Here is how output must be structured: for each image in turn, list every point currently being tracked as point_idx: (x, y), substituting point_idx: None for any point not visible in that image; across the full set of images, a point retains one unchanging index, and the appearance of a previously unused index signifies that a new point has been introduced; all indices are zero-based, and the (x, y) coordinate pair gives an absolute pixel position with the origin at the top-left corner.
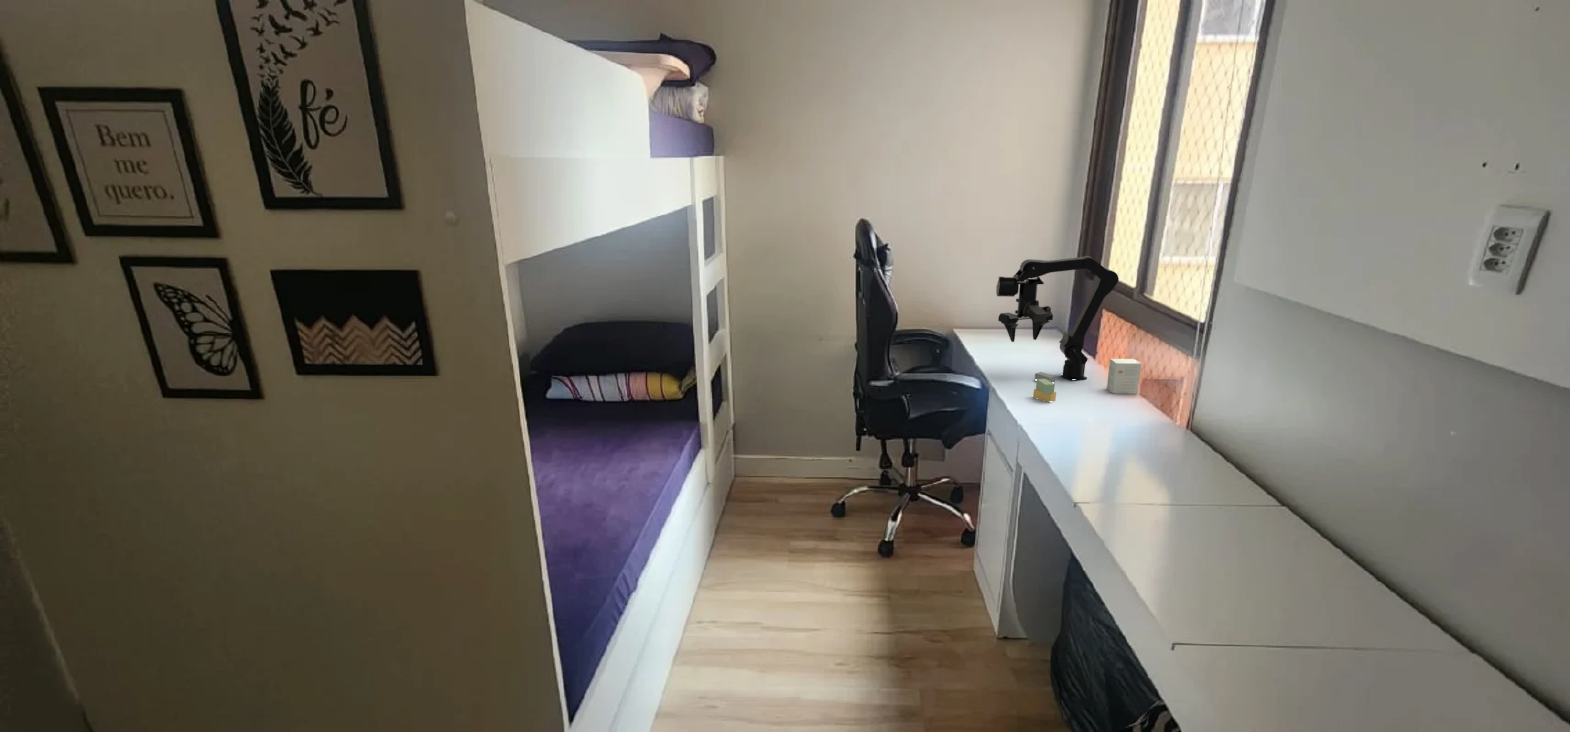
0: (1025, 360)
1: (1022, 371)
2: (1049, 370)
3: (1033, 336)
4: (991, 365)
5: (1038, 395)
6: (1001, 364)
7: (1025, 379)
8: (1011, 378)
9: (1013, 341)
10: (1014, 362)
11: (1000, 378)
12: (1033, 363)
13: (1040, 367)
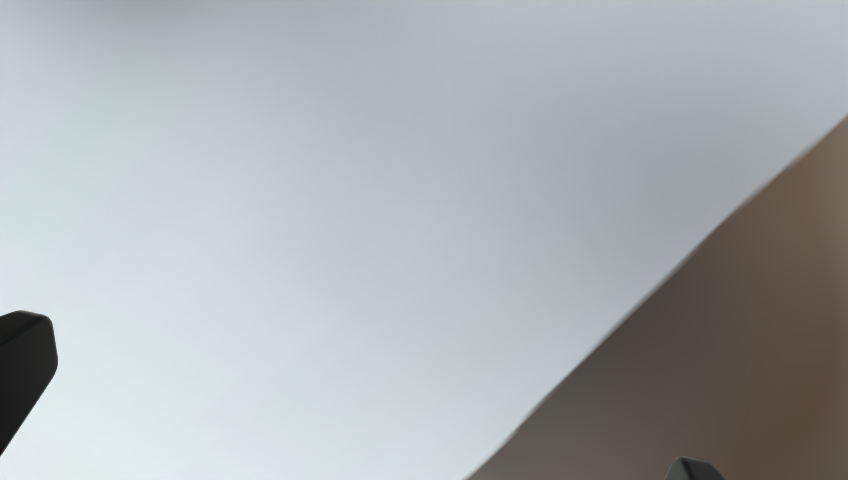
0: (69, 416)
1: (305, 233)
2: (39, 119)
3: (12, 419)
4: (415, 472)
5: None
6: (321, 448)
7: (498, 13)
8: (600, 125)
9: (706, 467)
10: (186, 428)
11: (699, 187)
12: (55, 337)
13: (65, 231)
